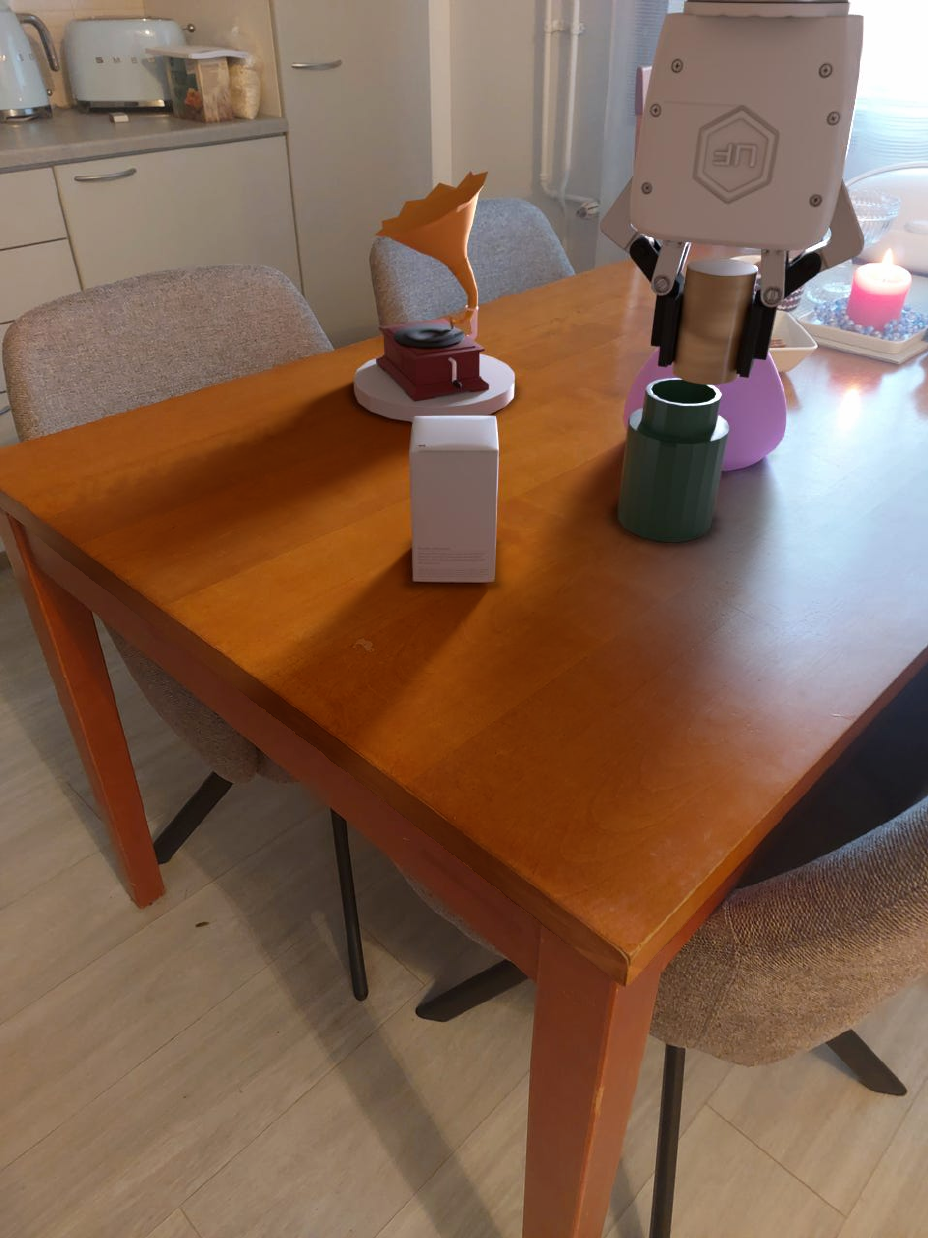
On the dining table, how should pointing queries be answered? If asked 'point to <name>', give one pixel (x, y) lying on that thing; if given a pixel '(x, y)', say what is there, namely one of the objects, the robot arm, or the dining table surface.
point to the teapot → (733, 409)
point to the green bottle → (673, 461)
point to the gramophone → (436, 325)
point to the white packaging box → (453, 498)
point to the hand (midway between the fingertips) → (706, 361)
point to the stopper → (713, 320)
